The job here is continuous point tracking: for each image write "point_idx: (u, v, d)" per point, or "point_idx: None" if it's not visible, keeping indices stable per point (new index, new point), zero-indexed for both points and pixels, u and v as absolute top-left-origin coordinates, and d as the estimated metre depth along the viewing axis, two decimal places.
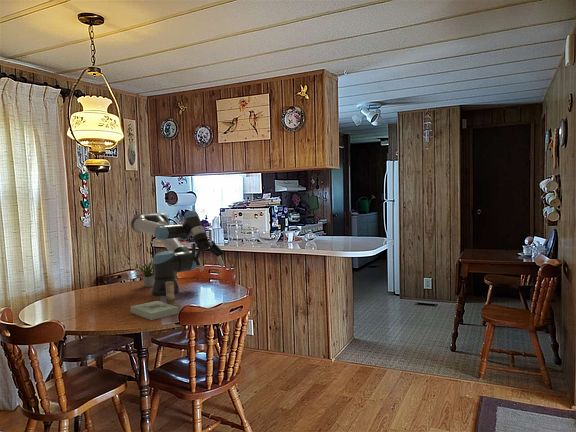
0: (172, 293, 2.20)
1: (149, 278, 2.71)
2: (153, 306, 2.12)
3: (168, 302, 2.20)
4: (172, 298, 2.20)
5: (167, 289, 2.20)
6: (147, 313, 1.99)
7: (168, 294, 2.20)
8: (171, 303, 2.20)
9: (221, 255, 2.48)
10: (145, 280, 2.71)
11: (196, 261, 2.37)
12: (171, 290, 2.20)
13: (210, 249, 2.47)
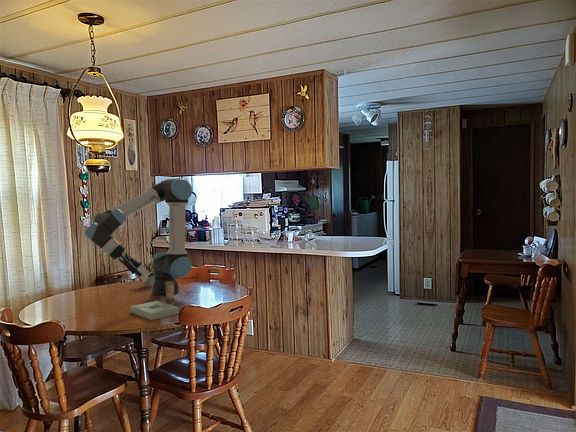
0: (172, 293, 2.20)
1: (149, 278, 2.71)
2: (153, 306, 2.12)
3: (168, 302, 2.20)
4: (172, 298, 2.20)
5: (167, 289, 2.20)
6: (147, 313, 1.99)
7: (168, 294, 2.20)
8: (171, 303, 2.20)
9: (134, 272, 2.09)
10: None
11: None
12: (171, 290, 2.20)
13: None
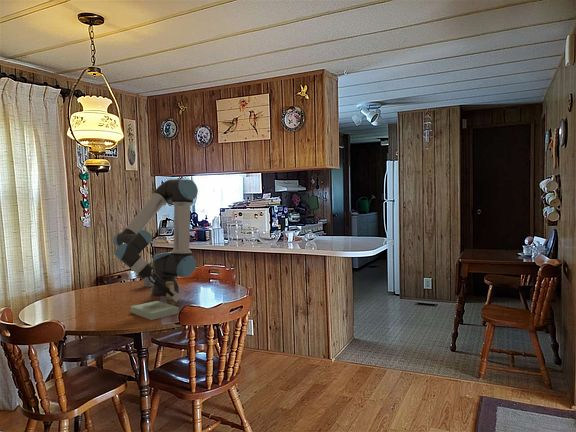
0: None
1: None
2: (153, 306, 2.12)
3: (168, 302, 2.20)
4: None
5: None
6: (147, 313, 1.99)
7: None
8: (171, 303, 2.20)
9: (167, 292, 2.17)
10: (145, 280, 2.71)
11: None
12: None
13: None
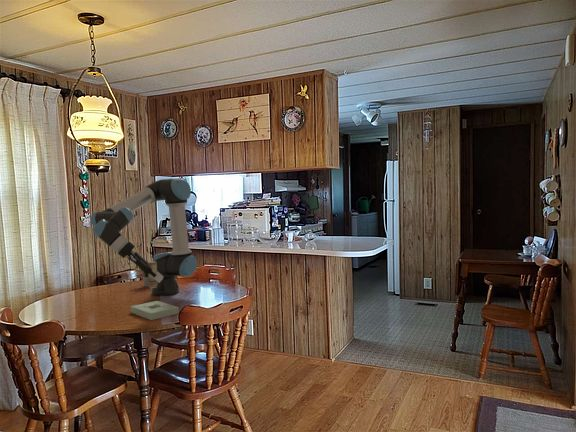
0: None
1: None
2: (153, 306, 2.12)
3: (150, 283, 2.06)
4: (154, 279, 2.07)
5: None
6: (147, 313, 1.99)
7: None
8: (153, 284, 2.07)
9: (149, 273, 2.04)
10: (145, 280, 2.71)
11: None
12: None
13: None
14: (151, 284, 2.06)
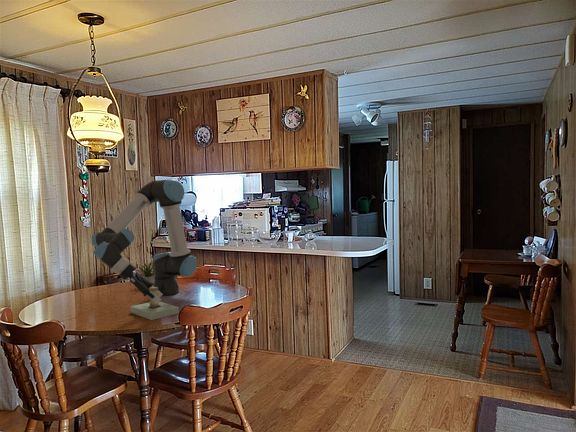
0: None
1: (149, 278, 2.71)
2: None
3: None
4: (156, 305, 2.07)
5: None
6: (147, 313, 1.99)
7: (152, 300, 2.07)
8: None
9: (147, 294, 2.01)
10: None
11: None
12: None
13: None
14: None
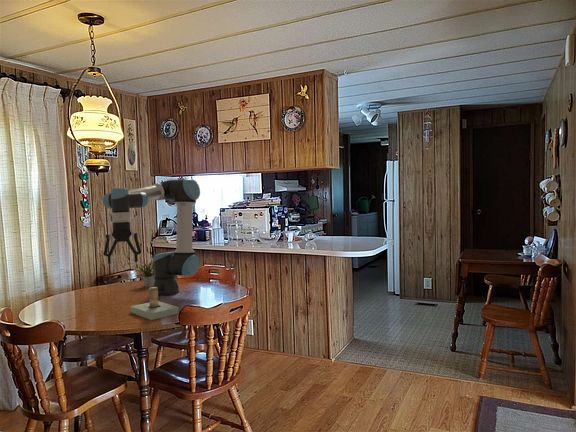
0: (156, 299, 2.07)
1: (149, 278, 2.71)
2: None
3: None
4: (156, 305, 2.07)
5: (150, 296, 2.07)
6: (147, 313, 1.99)
7: (151, 300, 2.07)
8: None
9: (136, 255, 2.06)
10: (145, 280, 2.71)
11: (108, 259, 2.03)
12: (154, 296, 2.07)
13: None
14: None
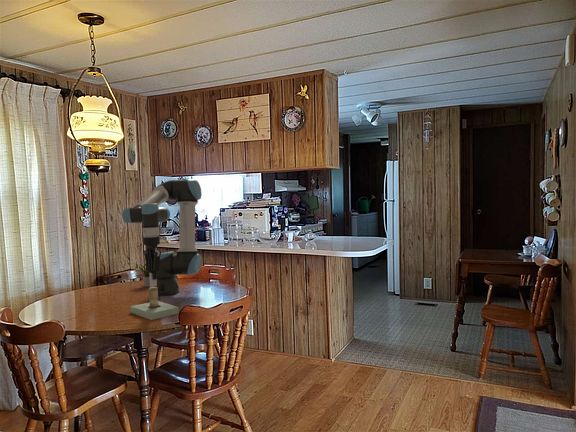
0: (156, 299, 2.07)
1: (149, 278, 2.71)
2: None
3: None
4: (156, 305, 2.07)
5: (150, 296, 2.07)
6: (147, 313, 1.99)
7: (151, 300, 2.07)
8: None
9: (153, 272, 2.06)
10: (145, 280, 2.71)
11: None
12: (154, 296, 2.07)
13: None
14: None
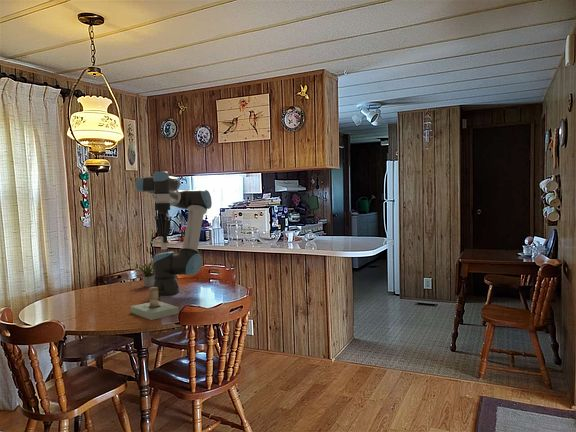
0: (156, 299, 2.07)
1: (149, 278, 2.71)
2: None
3: None
4: (156, 305, 2.07)
5: (151, 295, 2.07)
6: (147, 313, 1.99)
7: (152, 300, 2.07)
8: None
9: (164, 236, 2.21)
10: (145, 280, 2.71)
11: None
12: (155, 296, 2.07)
13: None
14: None
